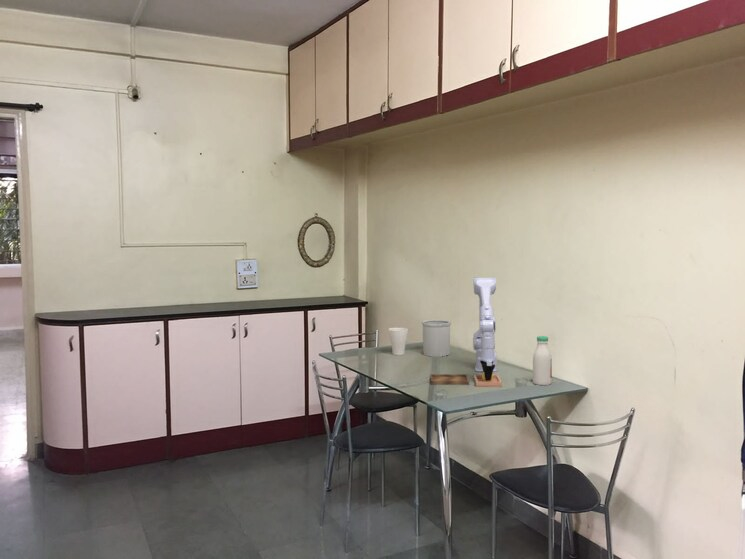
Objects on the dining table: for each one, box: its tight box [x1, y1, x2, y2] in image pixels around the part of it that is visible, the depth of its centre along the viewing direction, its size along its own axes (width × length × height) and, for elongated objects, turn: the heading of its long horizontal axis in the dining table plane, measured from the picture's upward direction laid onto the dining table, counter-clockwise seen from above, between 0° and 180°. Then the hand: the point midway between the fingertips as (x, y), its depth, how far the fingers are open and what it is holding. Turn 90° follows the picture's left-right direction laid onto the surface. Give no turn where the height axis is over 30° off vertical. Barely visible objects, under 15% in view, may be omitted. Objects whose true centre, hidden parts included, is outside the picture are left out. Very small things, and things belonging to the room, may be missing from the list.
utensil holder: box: [421, 318, 452, 358], centre depth 324 cm, size 15×15×18 cm
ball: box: [481, 371, 494, 382], centre depth 264 cm, size 5×5×5 cm
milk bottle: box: [532, 335, 553, 386], centre depth 262 cm, size 8×8×20 cm
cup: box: [387, 327, 409, 356], centre depth 326 cm, size 10×10×14 cm
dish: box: [473, 374, 503, 388], centre depth 264 cm, size 10×12×2 cm
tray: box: [430, 373, 470, 386], centre depth 269 cm, size 16×12×2 cm
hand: (487, 378), depth 264 cm, fingers closed on ball, 5 cm apart
